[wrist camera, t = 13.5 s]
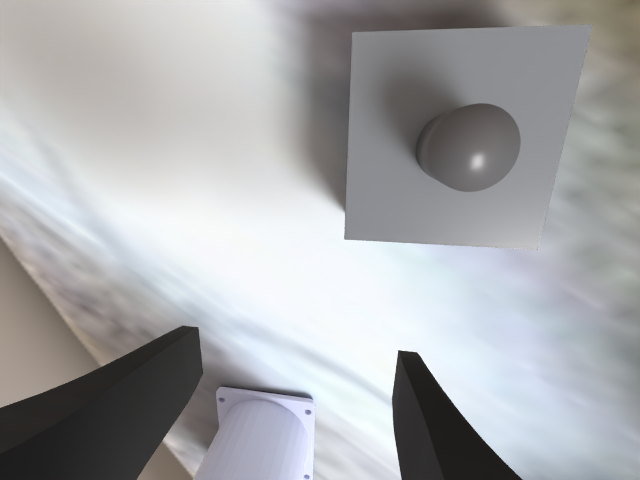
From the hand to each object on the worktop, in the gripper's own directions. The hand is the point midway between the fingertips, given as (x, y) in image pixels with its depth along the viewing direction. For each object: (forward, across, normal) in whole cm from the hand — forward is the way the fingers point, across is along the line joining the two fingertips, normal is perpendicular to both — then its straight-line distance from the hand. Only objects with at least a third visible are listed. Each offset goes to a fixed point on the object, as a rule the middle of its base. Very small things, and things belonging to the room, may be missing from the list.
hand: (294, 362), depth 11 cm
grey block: (+10, -6, -7) cm, 14 cm away
